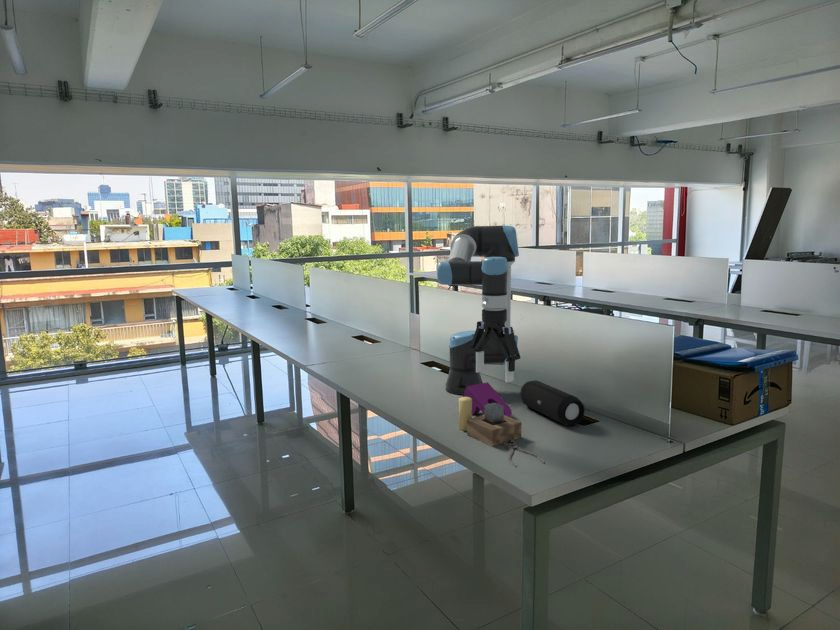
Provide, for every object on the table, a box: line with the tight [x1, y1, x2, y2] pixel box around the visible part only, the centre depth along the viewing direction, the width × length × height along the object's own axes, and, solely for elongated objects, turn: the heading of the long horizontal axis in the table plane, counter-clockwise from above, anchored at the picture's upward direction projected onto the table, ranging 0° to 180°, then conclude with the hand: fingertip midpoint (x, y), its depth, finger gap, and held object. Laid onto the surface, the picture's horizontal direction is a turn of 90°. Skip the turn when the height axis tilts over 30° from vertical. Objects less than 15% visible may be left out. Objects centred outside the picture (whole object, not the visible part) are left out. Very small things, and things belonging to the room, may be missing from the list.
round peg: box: [458, 396, 473, 432], centre depth 184 cm, size 4×4×10 cm
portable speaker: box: [520, 380, 586, 426], centre depth 195 cm, size 26×10×10 cm, turn 23°
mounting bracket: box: [462, 381, 513, 418], centre depth 198 cm, size 9×8×18 cm
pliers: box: [501, 439, 546, 468], centre depth 165 cm, size 10×1×20 cm
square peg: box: [484, 403, 504, 425], centre depth 177 cm, size 4×4×10 cm
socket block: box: [466, 414, 522, 447], centre depth 178 cm, size 12×12×5 cm
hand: (494, 376), depth 175 cm, fingers open, 13 cm apart
